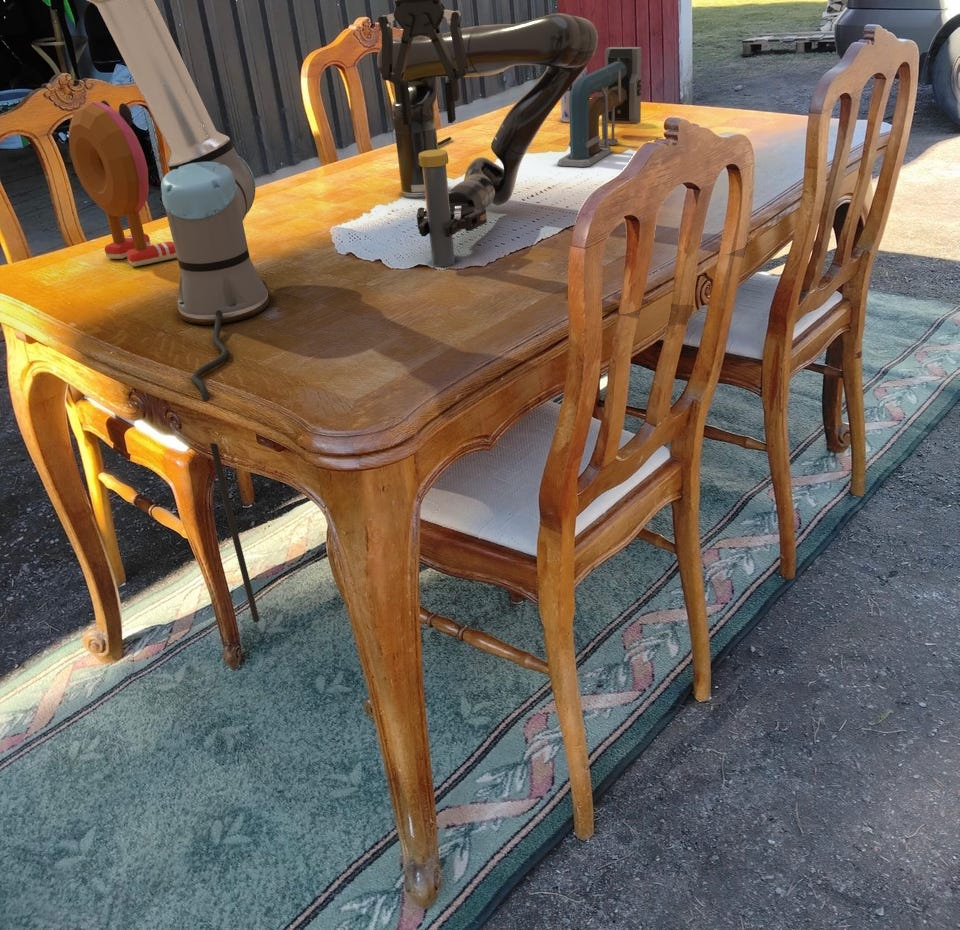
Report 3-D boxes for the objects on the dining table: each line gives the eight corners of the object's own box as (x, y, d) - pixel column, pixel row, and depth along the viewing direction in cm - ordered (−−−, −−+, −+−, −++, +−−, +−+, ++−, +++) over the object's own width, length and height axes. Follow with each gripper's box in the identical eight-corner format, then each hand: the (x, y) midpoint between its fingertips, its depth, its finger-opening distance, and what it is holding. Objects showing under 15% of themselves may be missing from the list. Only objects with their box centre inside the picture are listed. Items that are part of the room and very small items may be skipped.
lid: (454, 161, 170) (453, 150, 169) (438, 168, 166) (437, 157, 165) (429, 159, 172) (428, 148, 172) (413, 166, 169) (412, 155, 168)
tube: (458, 260, 179) (449, 153, 169) (447, 267, 176) (436, 159, 166) (439, 258, 181) (429, 152, 171) (428, 265, 178) (416, 157, 168)
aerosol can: (559, 122, 275) (557, 47, 265) (562, 117, 282) (559, 42, 272) (587, 121, 274) (585, 45, 263) (589, 115, 280) (587, 41, 270)
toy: (191, 258, 192) (154, 99, 176) (145, 273, 186) (103, 110, 170) (136, 241, 205) (97, 91, 189) (92, 254, 199) (48, 101, 183)
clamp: (588, 167, 230) (586, 71, 219) (554, 165, 234) (551, 71, 223) (640, 133, 256) (641, 47, 245) (609, 132, 260) (609, 47, 249)
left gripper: (348, -21, 153) (367, 129, 165) (471, -30, 149) (482, 124, 161) (362, -25, 159) (380, 119, 171) (481, -34, 155) (491, 115, 167)
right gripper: (428, 184, 187) (395, 210, 173) (498, 184, 183) (471, 211, 169) (432, 222, 191) (400, 250, 177) (501, 223, 186) (474, 252, 173)
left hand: (429, 121), depth 166 cm, fingers open, 7 cm apart
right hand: (435, 231), depth 173 cm, fingers closed on tube, 4 cm apart
